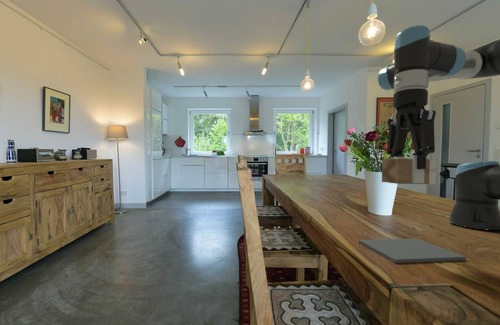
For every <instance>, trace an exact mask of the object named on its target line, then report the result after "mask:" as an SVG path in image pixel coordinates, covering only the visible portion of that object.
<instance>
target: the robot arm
mask: <svg viewBox="0 0 500 325" xmlns="http://www.w3.org/2000/svg"><path fill="white" fill-rule="evenodd" d="M430 33H431V32H430V28H429V27H428V26H426V25H413V26H409V27H406V28H405V29H402V30H401V31H399V32H398V34H397V35H396V36H395V41H394V49H393V52H394V53H393V54H394V56H393V57H394V58H393V59H394V60H393V63H391V64H389V65H387V66H385V67H383V68H382V69H381V70H380V71H379V72H378V75H377V82H378V86H380V88H382V90H385V91H390V90H393V92H394V94H393V95H392V96H393V97H392V107H393V108H394V109H395V110H396V112H395V115H394V116H395V117H393V118H388V119H387V124H388V132H387V147H386V154H387V155H391V158H406V157H405V155H406V154H404V151H405V146H406V142H407V137H408V135H409V133H410V136H411V141H412V146H413V150H414V153H412V156H411V158H412V183H424V169H426V159H427V157H428V156H429V154H434V153H435V151H436V147H435V142H436V141H435V119H436V118H435V117H436V115H437V112H436V110H429V109H426V108H425V107H426V106H427V105H428V103H429V91H428V90H427V89H429V83H431V82H439V81H444V80H451V79H459V80H471V79H479V78H489V77H496V76H497V77H498V76H500V38H499V39H497V40H493V41H491V42H488V43H486V44H484V45H481V46H478V47H477V48H474V49H469V50H464V49H462V48H461V47H458V46H456V45H453V44H448V43H443V42H439V41H435V40H433V39H431V34H430ZM454 177H455V202H454V205H453V207H452V210H451V212H450V214H449V216H448V217H449V218H448V222H449V221H450V222H452V223H454V224H457V225H461V226H466V227H471V228H478V229H488V230H500V208H499V200H500V162H499V161H497V160H496V161H495V160H492V161H491V160H490V161H489V160H487V161H472V162H465V163H460V164H458V165H457V166H456V170H455V175H454Z"/></svg>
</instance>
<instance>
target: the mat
mask: <svg viewBox="0 0 500 325" xmlns="http://www.w3.org/2000/svg"><path fill="white" fill-rule="evenodd" d="M358 244H360V245H361V246H363V247H365V248H367V249H369V250H371V251H372V252H374V253H376V254H377V255H379V256H381V257H383V258H384V259H386V260H389V262H392V263H394V264H408V263H410V264H411V263H429V262H430V263H432V262H435V263H437V262H456V261H458V262H459V261H467V257H466V256H465V255H462V254H460V253H457V252H455V251H452V250H449V249H446V248H444V247H441V246H439V245H436V244H432V243H430V242H427V241H425V240H422V239H420V238H392V239H391V238H388V239H387V238H386V239H385V238H384V239H383V238H382V239H359V240H358Z"/></svg>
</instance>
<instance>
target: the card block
mask: <svg viewBox="0 0 500 325" xmlns="http://www.w3.org/2000/svg"><path fill="white" fill-rule="evenodd" d="M436 162H437V159H434V158H426V169H424V183H412V157H410V158H409V157H405V158H393V157H388V158H387V157H385V158H382V160H381V182H382V183H388V184H397V185H402V184H403V185H436V170H437V168H436V166H437V165H436V164H437V163H436Z"/></svg>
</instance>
